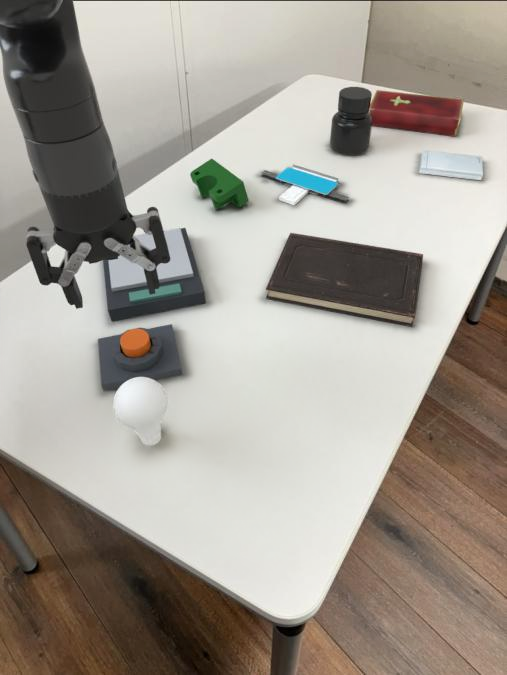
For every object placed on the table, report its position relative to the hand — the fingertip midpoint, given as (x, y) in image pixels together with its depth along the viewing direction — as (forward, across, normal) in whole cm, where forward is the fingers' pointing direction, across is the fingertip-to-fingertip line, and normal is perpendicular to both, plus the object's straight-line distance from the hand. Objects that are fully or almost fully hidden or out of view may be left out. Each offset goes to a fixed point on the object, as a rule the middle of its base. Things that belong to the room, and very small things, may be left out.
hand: (115, 296), depth 61 cm
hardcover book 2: (+16, -73, -63) cm, 97 cm away
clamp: (+16, -20, -41) cm, 49 cm away
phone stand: (+16, -37, -40) cm, 57 cm away
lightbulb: (+15, 0, +11) cm, 19 cm away
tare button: (+13, 0, -3) cm, 13 cm away
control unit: (+15, 0, -3) cm, 16 cm away
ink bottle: (+16, -53, -55) cm, 78 cm away
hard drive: (+16, -70, -40) cm, 82 cm away
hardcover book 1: (+16, -35, -12) cm, 40 cm away
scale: (+15, -4, -21) cm, 26 cm away
